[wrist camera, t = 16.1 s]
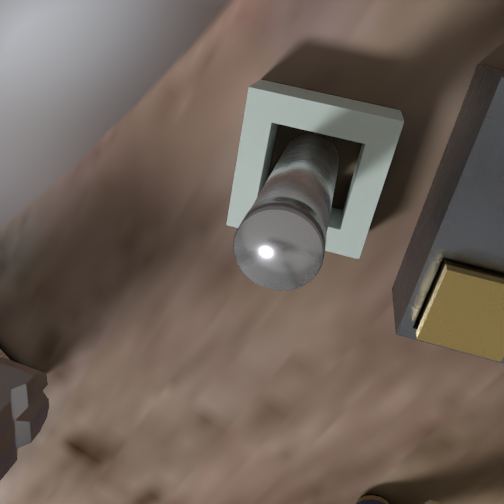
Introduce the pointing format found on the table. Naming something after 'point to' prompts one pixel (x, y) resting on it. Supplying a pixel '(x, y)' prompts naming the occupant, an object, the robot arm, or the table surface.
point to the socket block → (459, 202)
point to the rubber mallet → (371, 500)
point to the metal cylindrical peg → (290, 217)
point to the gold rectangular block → (465, 310)
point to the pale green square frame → (324, 122)
